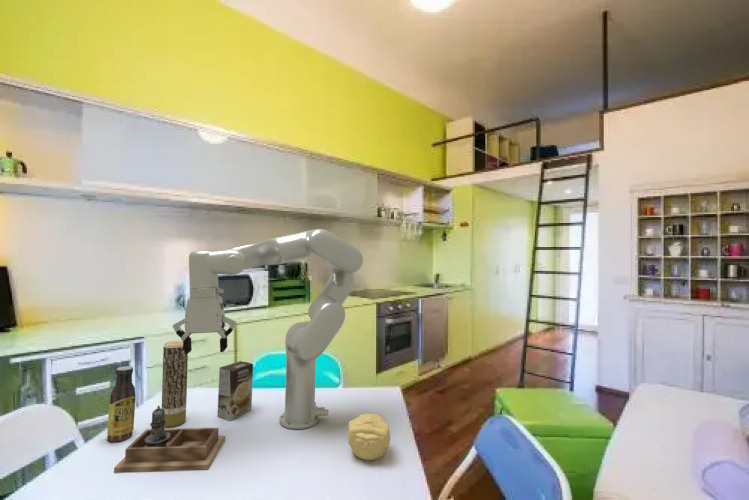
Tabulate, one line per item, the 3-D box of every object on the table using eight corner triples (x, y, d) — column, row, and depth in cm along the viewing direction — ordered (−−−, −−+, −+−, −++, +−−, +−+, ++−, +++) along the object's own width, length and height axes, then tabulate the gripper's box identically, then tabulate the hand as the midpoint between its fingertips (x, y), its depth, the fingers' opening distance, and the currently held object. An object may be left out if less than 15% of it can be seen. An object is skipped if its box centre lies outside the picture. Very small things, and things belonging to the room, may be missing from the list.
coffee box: (230, 421, 114) (232, 371, 114) (216, 416, 117) (218, 367, 117) (252, 410, 122) (253, 363, 123) (238, 405, 125) (240, 360, 125)
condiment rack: (225, 439, 103) (225, 424, 103) (207, 469, 89) (208, 451, 89) (144, 441, 101) (145, 425, 101) (113, 472, 87) (114, 454, 87)
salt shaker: (151, 444, 97) (152, 400, 97) (174, 444, 98) (175, 400, 98) (139, 457, 91) (140, 410, 91) (163, 456, 92) (164, 410, 92)
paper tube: (190, 418, 115) (192, 341, 115) (176, 428, 108) (179, 346, 108) (170, 416, 116) (173, 340, 116) (155, 427, 109) (158, 345, 109)
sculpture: (343, 463, 93) (345, 422, 93) (353, 440, 105) (354, 403, 105) (387, 468, 92) (388, 427, 92) (391, 444, 104) (392, 407, 104)
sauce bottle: (112, 445, 99) (115, 373, 99) (102, 438, 102) (104, 369, 102) (138, 435, 104) (140, 367, 104) (128, 429, 107) (130, 363, 107)
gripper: (238, 290, 108) (239, 346, 108) (178, 292, 106) (179, 349, 106) (231, 294, 101) (233, 354, 101) (166, 296, 98) (168, 357, 99)
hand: (205, 351), depth 104 cm, fingers open, 9 cm apart
